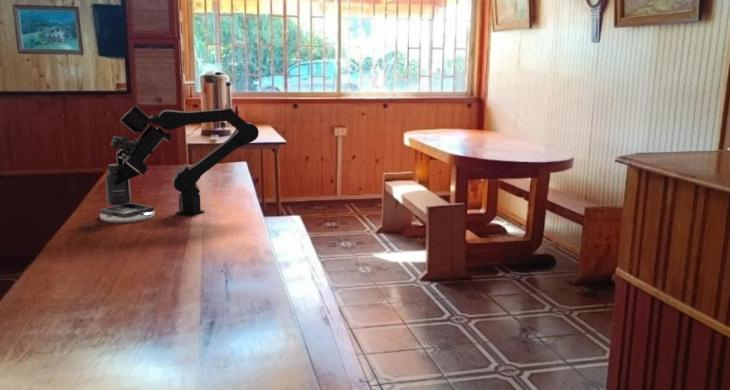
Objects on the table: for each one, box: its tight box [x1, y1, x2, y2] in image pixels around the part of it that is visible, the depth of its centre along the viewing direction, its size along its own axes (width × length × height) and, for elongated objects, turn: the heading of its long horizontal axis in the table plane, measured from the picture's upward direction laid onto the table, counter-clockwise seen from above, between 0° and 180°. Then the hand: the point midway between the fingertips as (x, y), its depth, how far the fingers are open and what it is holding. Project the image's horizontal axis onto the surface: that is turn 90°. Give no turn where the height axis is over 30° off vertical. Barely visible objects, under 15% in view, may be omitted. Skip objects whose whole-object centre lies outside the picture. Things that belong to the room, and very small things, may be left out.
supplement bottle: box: [104, 163, 132, 206], centre depth 190 cm, size 7×7×12 cm
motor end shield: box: [99, 202, 155, 224], centre depth 197 cm, size 16×16×3 cm
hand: (112, 182), depth 190 cm, fingers closed on supplement bottle, 7 cm apart
